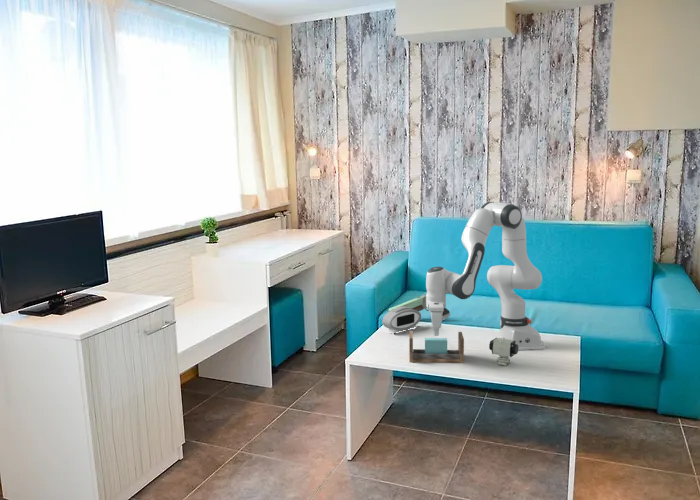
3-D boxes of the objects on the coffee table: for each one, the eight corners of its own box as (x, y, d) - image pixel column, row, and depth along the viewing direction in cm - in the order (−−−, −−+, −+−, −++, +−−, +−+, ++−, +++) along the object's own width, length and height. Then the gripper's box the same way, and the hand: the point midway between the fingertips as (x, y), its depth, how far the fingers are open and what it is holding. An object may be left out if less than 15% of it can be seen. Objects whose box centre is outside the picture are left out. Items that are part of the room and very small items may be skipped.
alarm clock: (390, 336, 310) (390, 312, 308) (382, 333, 314) (382, 309, 313) (421, 327, 324) (421, 305, 322) (413, 325, 329) (413, 303, 327)
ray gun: (451, 317, 334) (438, 285, 332) (398, 338, 338) (385, 306, 337) (450, 314, 341) (437, 282, 339) (398, 334, 346) (385, 303, 344)
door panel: (446, 355, 273) (446, 338, 272) (447, 357, 270) (447, 340, 269) (424, 354, 274) (424, 338, 273) (425, 357, 271) (425, 340, 270)
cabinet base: (461, 354, 277) (461, 331, 275) (463, 363, 265) (463, 339, 263) (409, 353, 279) (409, 331, 278) (409, 362, 267) (409, 338, 266)
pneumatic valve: (492, 360, 268) (493, 334, 266) (518, 365, 261) (518, 338, 260) (487, 364, 263) (488, 337, 262) (513, 368, 257) (514, 341, 255)
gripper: (428, 297, 280) (428, 325, 282) (429, 308, 260) (429, 339, 262) (442, 297, 279) (442, 325, 281) (443, 308, 259) (444, 339, 261)
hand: (436, 332), depth 271 cm, fingers open, 8 cm apart
